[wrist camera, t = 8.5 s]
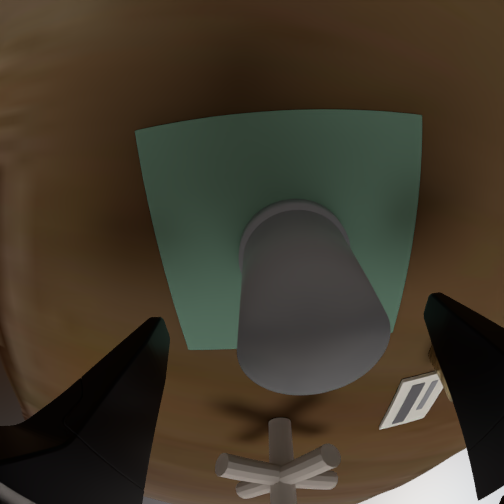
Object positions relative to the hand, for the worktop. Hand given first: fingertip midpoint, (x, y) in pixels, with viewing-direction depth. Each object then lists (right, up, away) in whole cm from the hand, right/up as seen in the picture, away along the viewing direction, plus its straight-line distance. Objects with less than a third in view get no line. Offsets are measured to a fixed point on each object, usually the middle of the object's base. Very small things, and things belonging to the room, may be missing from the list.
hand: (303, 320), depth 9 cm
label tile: (+13, -11, +11) cm, 20 cm away
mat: (0, +2, +4) cm, 5 cm away
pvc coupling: (0, +2, +4) cm, 5 cm away
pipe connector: (+1, -12, +12) cm, 17 cm away
